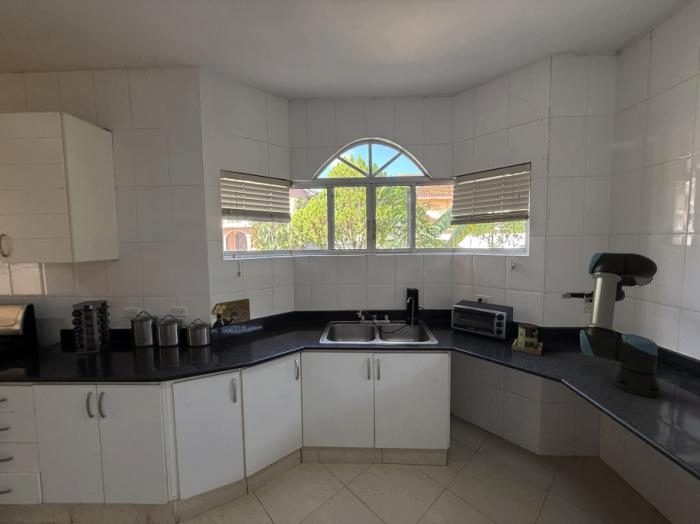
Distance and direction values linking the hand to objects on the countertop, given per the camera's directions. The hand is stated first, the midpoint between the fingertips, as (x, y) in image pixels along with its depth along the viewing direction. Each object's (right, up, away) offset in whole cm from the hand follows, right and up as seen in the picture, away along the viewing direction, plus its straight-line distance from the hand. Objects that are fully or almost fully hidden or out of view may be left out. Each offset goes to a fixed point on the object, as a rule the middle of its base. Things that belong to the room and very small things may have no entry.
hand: (572, 298), depth 174 cm
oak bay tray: (-22, -32, +8) cm, 39 cm away
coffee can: (-22, -31, +8) cm, 39 cm away
